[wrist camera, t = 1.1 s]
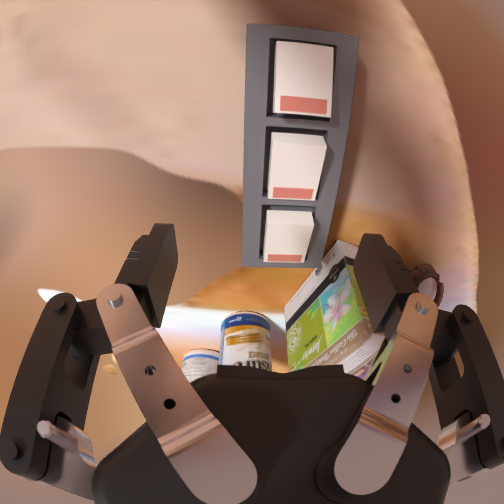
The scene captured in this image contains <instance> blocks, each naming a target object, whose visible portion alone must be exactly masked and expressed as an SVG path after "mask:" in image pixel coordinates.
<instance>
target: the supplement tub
mask: <svg viewBox="0 0 504 504" xmlns="http://www.w3.org/2000/svg"><path fill="white" fill-rule="evenodd" d="M217 364H218V365H219V353H218V352H216V351H213V350H207V349H196V350H192V351H189V352H188V353H186V354H185V356H184V358H183V363H182V369H181V370H182V372H183V373H184V375H185V376H186V378H187V379H188V381H189V382H192V381H194V380H195V379H197V378H200V377H202V376H205V375H209V374H213V373H217Z"/></svg>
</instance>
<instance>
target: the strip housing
mask: <svg viewBox="0 0 504 504" xmlns="http://www.w3.org/2000/svg"><path fill="white" fill-rule="evenodd" d="M277 41H285V42H296V43H305V44H313V45H320V46H327V47H333V84H332V105H331V117H322V116H312V115H301V114H289V113H273V92H274V61H275V44H276V42H277ZM358 44H359V37H356V36H352V35H347V34H342V33H336V32H331V31H325V30H318V29H311V28H303V27H294V26H283V25H268V24H247V34H246V70H245V113H244V168H243V254H242V267H280V268H320V266H321V262H322V258H323V254H324V250H325V246H326V242H327V237H328V233H329V229H330V224H331V219H332V215H333V210H334V205H335V201H336V196H337V191H338V185H339V180H340V175H341V170H342V164H343V158H344V153H345V147H346V141H347V134H348V128H349V121H350V114H351V107H352V100H353V92H354V84H355V75H356V65H357V55H358ZM272 132H277V133H294V134H307V135H318V136H323V138H324V140H325V143H326V146H327V148H326V153H325V158H324V162H323V167H322V171H321V176H320V180H319V185H318V189H317V193H316V197H315V201H312V200H291V199H268V189H267V185H268V172H269V160H270V147H271V134H272ZM267 210H281V211H306V212H312V217H313V222H314V227H313V231H312V235H311V238H310V242H309V245H308V249H307V253H306V256H305V260H304V263H294V262H264V258H263V247H264V236H265V225H266V214H267Z"/></svg>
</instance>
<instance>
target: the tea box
mask: <svg viewBox="0 0 504 504" xmlns="http://www.w3.org/2000/svg"><path fill="white" fill-rule="evenodd" d="M357 251H358V247H356V246H354V245H351V244H349V243H347V242H344V241H341V240H339V239H338V240H337V242H336V243H335V244H334V246H333V247H332V248H331V249H330V250H329V252H328V253H327V254H326V256H325V257H324V258H323V260H322V262H321V266H320V268H315V269H314V271H313V272H312V274H311V275H310V276H309V277H308V279H307V280H306V281H305V282H304V283H303V284H302V286H301V287H300V288H299V290H298V291H297V292H296V293H295V294H294V295H293V297H292V298H291V299H290V301H289V302H288V303H287V304H286V305H285V307H284V308H285V323H286V340H287V357H288V372H292V371H296V370H300V369H304V368H307V367H311V366H318V365H337V364H343V367H344V372H345V373H348V374H351V375H355V376H357V377H359V378H361V379H363V377H364V376H365V374H366V372H367V371H368V369H369V367H370V365H371V363H372V361H373V359H374V357H375V355H376V353H377V350H378V348H379V346H380V344H381V342H382V340H383V338H384V337H385V335H384V332H383V333H374V332H373V329H372V326H371V323H370V320H369V317H368V314H367V311H366V308H365V305H364V302H363V299H362V296H361V293H360V290H359V287H358V284H357V281H356V279H355V276H354V271H353V265H354V260H355V257H356V254H357Z"/></svg>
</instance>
